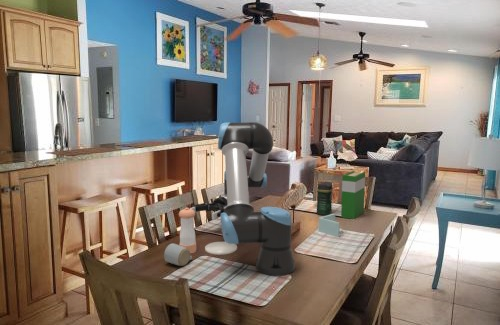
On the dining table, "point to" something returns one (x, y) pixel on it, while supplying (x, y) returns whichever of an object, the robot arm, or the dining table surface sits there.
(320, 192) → the coffee jar
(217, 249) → the cream saucer
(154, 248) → the dining table surface
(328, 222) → the l-shaped corner panel
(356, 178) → the hardback book
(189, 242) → the pepper shaker
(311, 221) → the dining table surface
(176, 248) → the ceramic mug
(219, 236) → the dining table surface
